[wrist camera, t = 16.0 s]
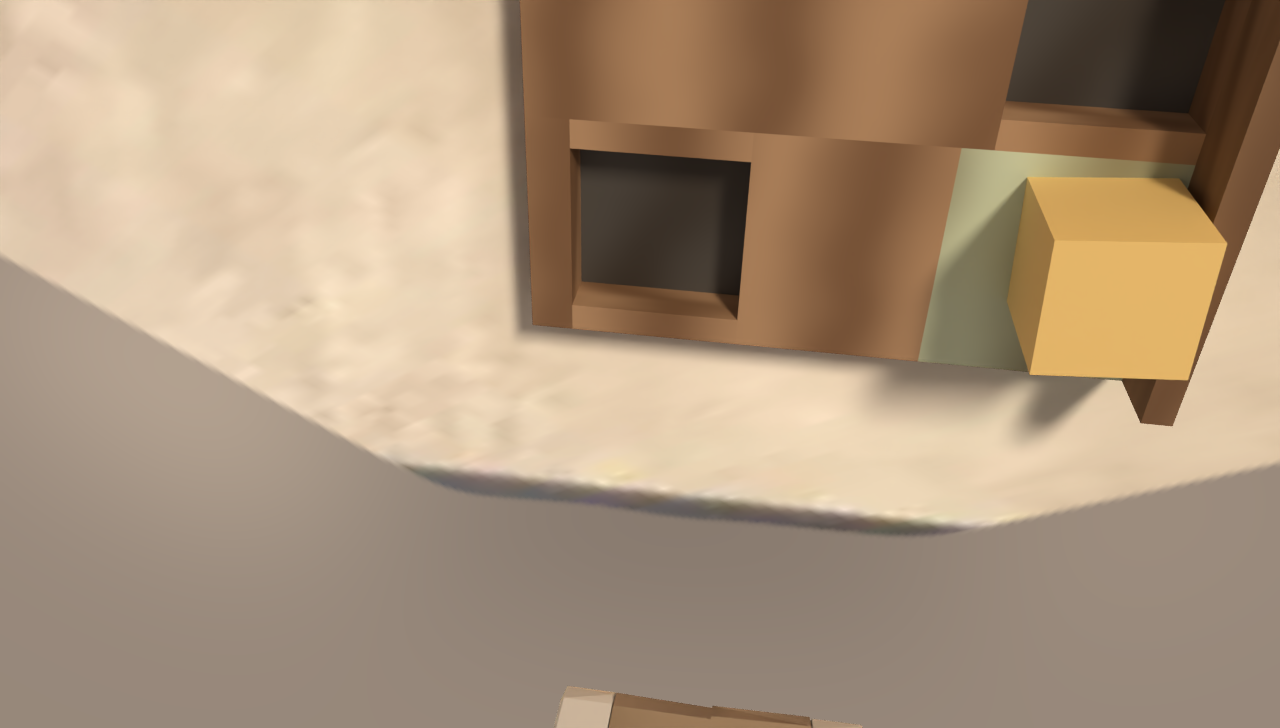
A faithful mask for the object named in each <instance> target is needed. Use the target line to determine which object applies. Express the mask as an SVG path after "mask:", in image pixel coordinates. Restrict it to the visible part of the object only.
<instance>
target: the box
mask: <svg viewBox="0 0 1280 728" xmlns="http://www.w3.org/2000/svg"><path fill="white" fill-rule="evenodd" d="M520 17H521V42H522V68H523V93H524V118H525V143H526V168H527V194H528V219H529V244H530V269H531V294H532V320H533V325H540V326H551V327H561V328H572V329H582V330H593V331H604V332H614V333H625V334H635V335H646V336H656V337H667V338H677V339H688V340H698V341H709V342H719V343H730V344H740V345H751V346H761V347H772V348H783V349H793V350H804V351H814V352H825V353H835V354H846V355H856V356H867V357H877V358H888V359H898V360H909V361H919V362H930V363H941V364H951V365H962V366H972V367H983V368H993V369H1004V370H1014V371H1025V372H1029V371H1028V368H1027V365H1026V362H1025V358H1024V355H1023V352H1022V349H1021V346H1020V342H1019V339H1018V336H1017V333H1016V329H1015V326H1014V323H1013V320H1012V317H1011V313H1010V310H1009V307H1008V304H1007V297H1008V291H1009V285H1010V278H1011V272H1012V266H1013V260H1014V254H1015V248H1016V242H1017V236H1018V230H1019V224H1020V218H1021V212H1022V206H1023V200H1024V194H1025V188H1026V182H1027V177H1091V178H1179V179H1180V180H1181V181H1182V183H1183V184H1184V185H1185V187H1186V188H1187V189H1188V191H1189V192H1190V193H1191V195H1192V196H1193V198H1194V199H1195V200H1196V202H1197V203H1198V204H1199V206H1200V207H1201V208H1202V210H1203V211H1204V212H1205V214H1206V215H1207V216H1208V218H1209V219H1210V221H1211V222H1212V223H1213V225H1214V226H1215V227H1216V229H1217V230H1218V231H1219V233H1220V234H1221V235H1222V237H1223V238H1224V239H1225V241H1226V242H1227V247H1226V250H1225V254H1224V257H1223V261H1222V264H1221V268H1220V271H1219V275H1218V278H1217V281H1216V285H1215V288H1214V292H1213V295H1212V299H1211V302H1210V306H1209V309H1208V313H1207V316H1206V320H1205V323H1204V327H1203V330H1202V333H1201V337H1200V340H1199V344H1198V347H1197V351H1196V354H1195V358H1194V361H1193V365H1192V368H1191V372H1190V375H1189V379H1188V380H1164V379H1136V378H1108V377H1088V378H1099V379H1109V380H1120V381H1122V382H1123V384H1124V387H1125V389H1126V391H1127V393H1128V396H1129V398H1130V400H1131V402H1132V405H1133V407H1134V409H1135V411H1136V414H1137V416H1138V418H1139V420H1140V423H1145V424H1155V425H1165V426H1173V423H1174V421H1175V418H1176V416H1177V413H1178V410H1179V408H1180V405H1181V403H1182V400H1183V397H1184V395H1185V392H1186V390H1187V387H1188V384H1189V382H1190V379H1191V377H1192V374H1193V372H1194V369H1195V366H1196V364H1197V361H1198V359H1199V356H1200V353H1201V351H1202V348H1203V346H1204V343H1205V340H1206V338H1207V335H1208V333H1209V330H1210V327H1211V325H1212V322H1213V320H1214V317H1215V314H1216V312H1217V309H1218V307H1219V304H1220V302H1221V299H1222V296H1223V294H1224V291H1225V289H1226V286H1227V283H1228V281H1229V278H1230V276H1231V273H1232V270H1233V268H1234V265H1235V263H1236V260H1237V257H1238V255H1239V252H1240V250H1241V247H1242V244H1243V242H1244V239H1245V237H1246V234H1247V232H1248V229H1249V226H1250V224H1251V221H1252V219H1253V216H1254V213H1255V211H1256V208H1257V206H1258V203H1259V200H1260V198H1261V195H1262V193H1263V190H1264V187H1265V185H1266V182H1267V180H1268V177H1269V174H1270V172H1271V169H1272V167H1273V164H1274V162H1275V159H1276V156H1277V154H1278V151H1279V149H1280V0H520ZM1077 377H1080V376H1077Z"/></svg>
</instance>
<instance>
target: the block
mask: <svg viewBox="0 0 1280 728" xmlns="http://www.w3.org/2000/svg"><path fill="white" fill-rule="evenodd" d="M1226 247H1227V242H1226V241H1225V239H1224V238H1223V237H1222V235H1221V234H1220V233H1219V231H1218V230H1217V229H1216V227H1215V226H1214V225H1213V223H1212V222H1211V221H1210V219H1209V218H1208V216H1207V215H1206V214H1205V212H1204V211H1203V210H1202V208H1201V207H1200V206H1199V204H1198V203H1197V202H1196V200H1195V199H1194V198H1193V196H1192V195H1191V193H1190V192H1189V191H1188V189H1187V188H1186V187H1185V185H1184V184H1183V183H1182V181H1181V180H1180V179H1179V178H1091V177H1027V182H1026V188H1025V194H1024V200H1023V206H1022V212H1021V218H1020V224H1019V230H1018V236H1017V242H1016V248H1015V254H1014V260H1013V266H1012V272H1011V278H1010V285H1009V291H1008V297H1007V304H1008V307H1009V310H1010V313H1011V317H1012V320H1013V323H1014V326H1015V329H1016V333H1017V336H1018V339H1019V342H1020V346H1021V349H1022V352H1023V355H1024V358H1025V362H1026V365H1027V368H1028V371H1029V374H1030V375H1052V376H1080V377H1108V378H1136V379H1164V380H1188V379H1189V375H1190V372H1191V368H1192V365H1193V361H1194V358H1195V354H1196V351H1197V347H1198V344H1199V340H1200V337H1201V333H1202V330H1203V327H1204V323H1205V320H1206V316H1207V313H1208V309H1209V306H1210V302H1211V299H1212V295H1213V292H1214V288H1215V285H1216V281H1217V278H1218V275H1219V271H1220V268H1221V264H1222V261H1223V257H1224V254H1225V250H1226Z"/></svg>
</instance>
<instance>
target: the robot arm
mask: <svg viewBox="0 0 1280 728" xmlns="http://www.w3.org/2000/svg"><path fill="white" fill-rule="evenodd" d="M554 728H863V727H862V726H861V725H858V724H850V723H842V722H833V721H826V720H817V719H812V720H811V721H810V718H809V717H804V716H796V715H787V714H779V713H769V712H761V711H753V710H744V709H735V708H727V707H718V706H713V707H712V708H709V707H703V706H697V705H690V704H683V703H678V702H671V701H665V700H659V699H652V698H646V697H640V696H634V695H627V694H621V693H615V692H608V691H600V690H593V689H586V688H579V687H571V686H567V688H566V690H565V692H564V694H563V697H562V698H561V700H560V704H559V708H558V712H557V716H556V720H555V724H554Z"/></svg>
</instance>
